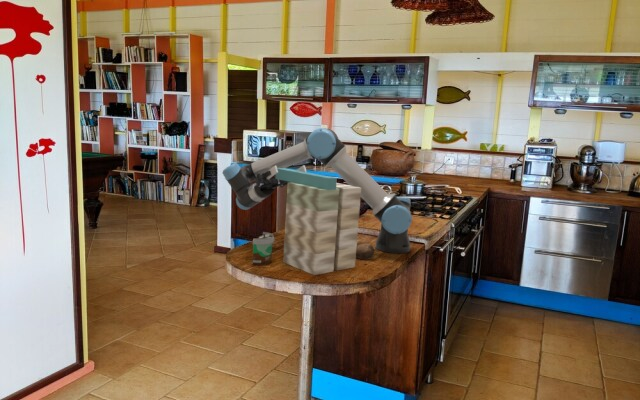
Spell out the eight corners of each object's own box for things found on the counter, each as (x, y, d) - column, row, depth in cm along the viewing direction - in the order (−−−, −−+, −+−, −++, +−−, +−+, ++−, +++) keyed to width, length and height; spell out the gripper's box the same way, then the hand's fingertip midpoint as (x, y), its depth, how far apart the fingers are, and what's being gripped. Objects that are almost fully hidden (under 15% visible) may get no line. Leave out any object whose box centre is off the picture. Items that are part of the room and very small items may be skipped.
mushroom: (363, 246, 208) (364, 236, 203) (377, 257, 204) (378, 247, 199) (349, 256, 204) (350, 247, 200) (364, 268, 200) (365, 258, 196)
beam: (275, 178, 193) (275, 168, 193) (283, 178, 196) (284, 168, 195) (327, 190, 171) (328, 178, 171) (336, 189, 174) (336, 178, 173)
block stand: (283, 262, 188) (287, 182, 184) (322, 255, 202) (328, 181, 197) (314, 275, 175) (320, 189, 170) (354, 267, 188) (361, 187, 184)
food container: (267, 267, 180) (269, 240, 179) (251, 265, 181) (252, 238, 180) (277, 258, 192) (279, 233, 191) (262, 257, 193) (263, 231, 192)
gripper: (288, 196, 211) (318, 177, 196) (237, 199, 195) (266, 178, 180) (283, 180, 213) (313, 159, 198) (232, 181, 197) (261, 159, 182)
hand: (291, 168), depth 189 cm, fingers open, 13 cm apart
